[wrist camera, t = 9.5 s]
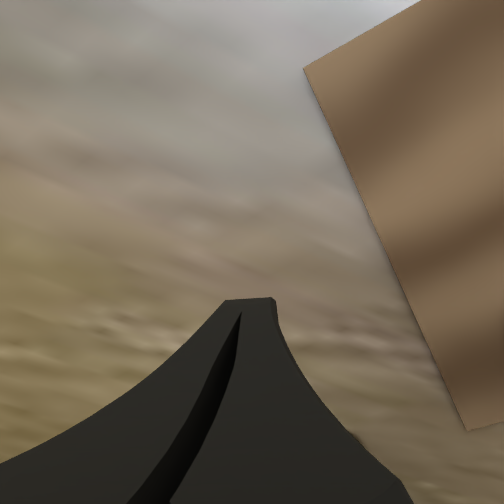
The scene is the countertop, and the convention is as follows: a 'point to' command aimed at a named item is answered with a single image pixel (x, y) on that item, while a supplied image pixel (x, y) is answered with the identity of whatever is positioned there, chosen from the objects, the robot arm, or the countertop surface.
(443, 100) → the walnut board
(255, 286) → the countertop surface
